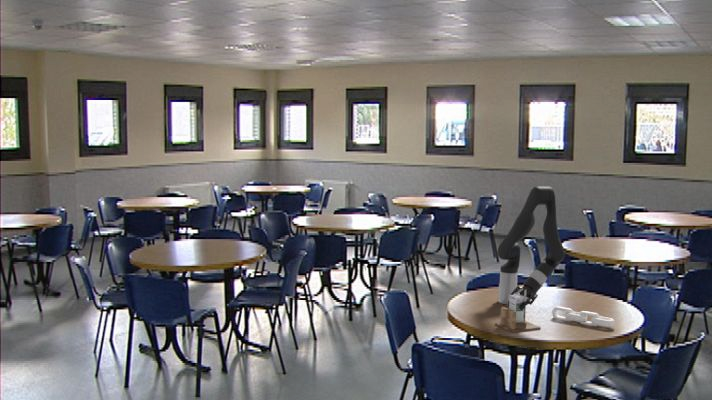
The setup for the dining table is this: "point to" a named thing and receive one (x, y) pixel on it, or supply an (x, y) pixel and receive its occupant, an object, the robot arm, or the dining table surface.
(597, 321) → the chain
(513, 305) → the syrup box
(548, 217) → the robot arm
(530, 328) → the dock
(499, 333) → the dining table surface
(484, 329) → the dining table surface
